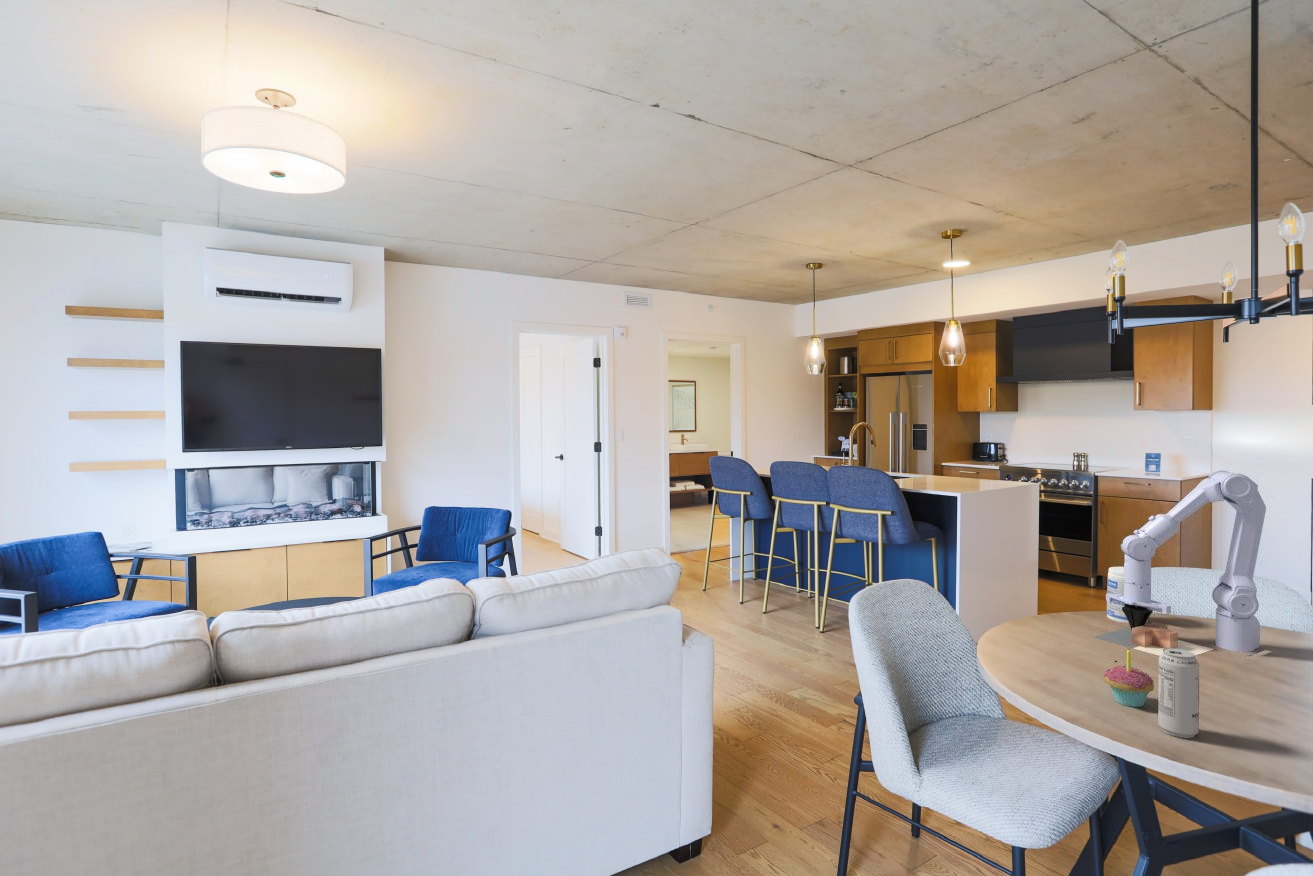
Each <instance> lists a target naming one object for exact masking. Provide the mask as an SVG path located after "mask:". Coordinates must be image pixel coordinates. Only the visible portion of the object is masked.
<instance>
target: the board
mask: <svg viewBox="0 0 1313 876" xmlns="http://www.w3.org/2000/svg"><path fill="white" fill-rule="evenodd" d="M1092 638H1094V639H1097V640H1101V641H1106V642H1107V643H1108V642H1109V643H1113V644H1116V645H1120V646H1124V647H1126V648H1128V647H1129V648H1131V649H1134V650H1137V651H1142V652H1145V653H1149V654H1152V655H1156V656H1158V657H1160V655H1161V654H1162V653H1163V649H1164V648H1160V647H1156V646H1153V645H1152V646H1148V647H1141V646H1137V645H1134V644H1132V631H1131V627H1124V628H1120V629H1117V630H1113V631H1109V632H1106V633H1101V634H1097V635H1094V636H1092ZM1176 649H1182V650H1187V651H1190V652H1192V653H1194V654H1195V656H1197V655H1202V654H1204V653H1207V652H1210V651H1213V650H1215V648H1211V647H1208V646H1203V645H1199V644H1195V643H1192V642H1187V641H1184V640H1180V639H1178V648H1176Z"/></svg>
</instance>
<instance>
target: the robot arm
mask: <svg viewBox="0 0 1313 876" xmlns="http://www.w3.org/2000/svg"><path fill="white" fill-rule="evenodd" d="M1258 487H1259V486H1258V484H1257V483H1256V482H1255V481H1253V480H1252V479H1251V478H1250V477H1248V476H1247V475H1246V474H1243V473H1235V472H1230V471H1227V470H1216V471H1214V472H1212V473H1211V474H1209V476H1208V477H1207V478H1204V479H1202V480H1201V481H1200V482H1199V483H1198V484H1197V485H1196V486H1195V487H1194V488H1193V489H1192V490H1191V491H1190V492H1189V493H1188V494H1187V495H1185V496H1184V498H1183V499H1181V500H1180V501H1179V502H1178V503H1176V504H1175V506H1173V508H1171V509H1170V510H1169V511H1168V512H1167V513H1159V514H1156V515H1155V516H1154V515H1151V516H1150V517H1148V518H1147V519H1148V520H1149V521H1147V522H1146V523H1145V524H1144V525H1143V526H1142V527H1140V528H1139V529H1135V530H1134V531H1133V534H1131V535H1128V536H1126V537H1124V539H1123V540H1122V543H1121V544H1120V548H1121V551H1122V552H1123V553H1124V564H1123V567H1124V595H1121V594H1114V593H1107V592H1106V594H1105V600H1106V602H1107V601H1109V602H1111V601H1113V602H1117V603H1121V604H1125V606H1124V607H1122V611H1123V612H1124V614H1125V615H1126V617H1127V619H1128V621H1129V623H1128V624H1129V626H1130V627H1129V628H1131V631H1132V628H1135V627H1139V626H1143V625H1146V622H1147V623H1148V619H1149V618H1150V616H1151V615H1152V614H1153V612H1158V613H1162V614H1164V615H1169V614H1171V613H1172V605H1170V604H1165V603H1162V602H1160V601H1159V602H1158V601H1155V600H1152V558H1153V557H1154V556H1155V554H1156V551H1157V549H1158V548H1159V547H1161V545H1163V544H1164V543H1165V542H1166V541H1168V540H1169V539H1170V538H1171V537H1172V536H1174V535H1175V534H1176V533H1178V532H1179V529H1180V528H1179V527H1180V523H1181V522H1183V521H1184V520H1186V519H1187V518H1188V517H1190V516H1191V515H1192V514H1194V513H1195V512H1196V511H1197V510H1199V509H1200V508H1202V507H1203V506H1204V505H1206V504H1207V503H1214V502H1224V501H1226V502H1227V503H1228V505H1230V506H1231V507H1232V508H1233V509H1234V510H1235V511H1236V514H1235V518H1234V523H1233V529H1232V535H1231V538H1230V539H1231V540H1230V544H1229V548H1228V549H1229V550H1228V556H1227V561H1226V564H1225V565H1226V566H1225V572H1224V573H1223V574H1222V575H1220V577H1219V580H1218V583H1217V585H1216V586H1215V587H1214V588H1212V592H1211V598H1212V600H1213V602H1214V603H1215V604H1216V605H1217V607H1216V609H1215V646H1217V647H1219V648H1221V649H1223V650H1227V651H1232V652H1239V653H1240V652H1241V653H1251V652H1253V651H1254V650H1255V649H1257V648H1260V647H1261V624H1260V621H1259V618H1257V617H1256V616H1255V614H1256V613H1257V612H1258V610H1259V607H1260V603H1259V601H1258V598H1257V592H1258V589H1257V586H1256V583H1255V582H1254V574H1255V567H1256V564H1257V563H1256V562H1257V559H1258V554H1259V550H1260V549H1259V548H1260V544H1261V543H1260V542H1261V537H1262V533H1263V532H1262V531H1263V527H1264V521H1265V516H1266V510H1267V506H1266V504H1265V502H1264V499H1263V498H1262V496H1261V494H1260V492H1259V490H1258V489H1259V488H1258ZM1264 651H1265V649H1263V650H1260V651H1258V652H1257V651H1256V652H1254V653H1251V654H1249V655H1246V656H1247V657H1250V656H1253V655H1255V654H1258V653H1261V652H1264ZM1246 656H1244V657H1245V658H1246Z"/></svg>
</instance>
